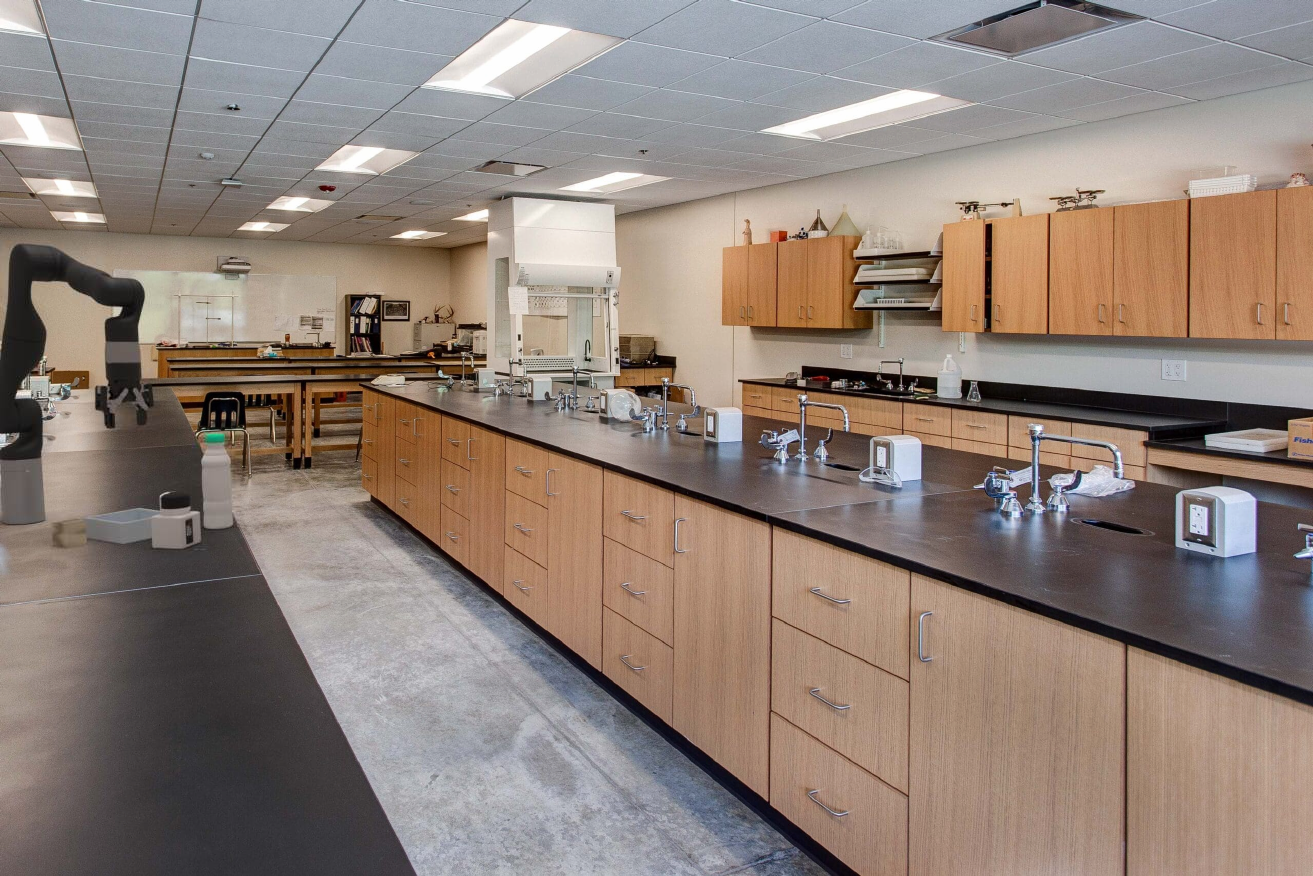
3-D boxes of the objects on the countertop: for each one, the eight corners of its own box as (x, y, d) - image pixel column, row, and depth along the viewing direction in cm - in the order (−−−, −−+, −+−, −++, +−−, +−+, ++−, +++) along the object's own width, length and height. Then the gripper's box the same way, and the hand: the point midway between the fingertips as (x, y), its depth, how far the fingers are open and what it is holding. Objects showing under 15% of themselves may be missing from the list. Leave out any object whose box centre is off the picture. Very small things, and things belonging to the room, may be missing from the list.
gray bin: (83, 537, 223) (82, 517, 223) (140, 526, 237) (139, 508, 236) (123, 544, 217) (121, 523, 216) (178, 532, 230) (177, 513, 230)
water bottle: (225, 530, 234) (221, 435, 231) (198, 529, 234) (194, 434, 232) (238, 524, 241) (234, 432, 238) (212, 523, 241) (208, 432, 239)
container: (201, 542, 220) (199, 490, 219) (182, 549, 213) (179, 495, 211) (172, 541, 221) (169, 489, 220) (151, 548, 213) (149, 494, 212)
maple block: (52, 546, 214) (51, 521, 213) (73, 542, 219) (72, 518, 218) (65, 548, 212) (64, 523, 211) (86, 544, 216) (85, 520, 216)
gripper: (136, 359, 225) (139, 423, 227) (84, 360, 211) (88, 428, 213) (159, 360, 222) (162, 425, 224) (108, 361, 209) (111, 430, 211)
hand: (126, 426), depth 219 cm, fingers open, 8 cm apart
